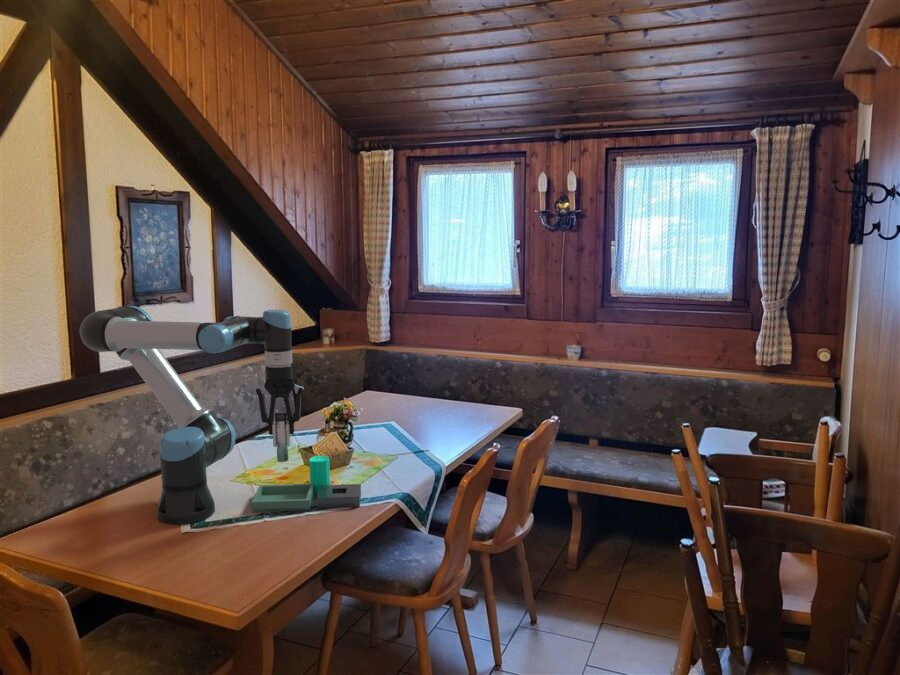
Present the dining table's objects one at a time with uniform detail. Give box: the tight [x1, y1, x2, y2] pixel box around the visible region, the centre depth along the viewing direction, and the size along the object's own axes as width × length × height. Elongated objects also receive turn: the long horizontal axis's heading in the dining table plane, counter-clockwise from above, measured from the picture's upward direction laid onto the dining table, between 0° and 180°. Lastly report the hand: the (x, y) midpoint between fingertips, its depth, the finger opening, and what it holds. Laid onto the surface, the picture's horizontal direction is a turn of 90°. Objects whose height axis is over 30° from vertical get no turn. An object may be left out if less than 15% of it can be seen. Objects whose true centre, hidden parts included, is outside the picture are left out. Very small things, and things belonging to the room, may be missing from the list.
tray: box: [251, 483, 315, 513], centre depth 209 cm, size 16×13×3 cm
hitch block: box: [316, 483, 362, 509], centre depth 210 cm, size 12×10×3 cm
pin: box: [274, 411, 289, 463], centre depth 206 cm, size 3×3×14 cm
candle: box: [308, 454, 331, 495], centre depth 218 cm, size 6×6×12 cm
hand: (282, 445), depth 206 cm, fingers closed on pin, 3 cm apart
